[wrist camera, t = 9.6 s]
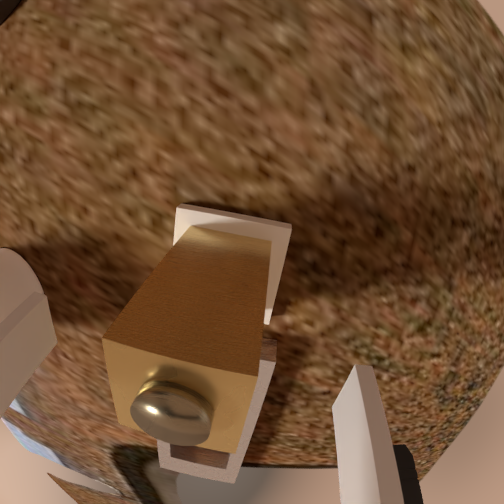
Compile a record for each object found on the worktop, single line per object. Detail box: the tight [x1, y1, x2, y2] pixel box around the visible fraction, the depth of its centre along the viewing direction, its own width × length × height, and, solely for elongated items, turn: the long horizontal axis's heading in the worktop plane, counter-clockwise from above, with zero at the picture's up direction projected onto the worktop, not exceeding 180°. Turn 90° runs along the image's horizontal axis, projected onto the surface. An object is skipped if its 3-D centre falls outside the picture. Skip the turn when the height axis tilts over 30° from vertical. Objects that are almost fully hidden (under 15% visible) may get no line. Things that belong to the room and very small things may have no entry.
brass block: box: [102, 226, 272, 454], centre depth 14 cm, size 5×5×12 cm
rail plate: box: [157, 337, 277, 483], centre depth 26 cm, size 22×9×2 cm, turn 170°
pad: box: [173, 203, 292, 325], centre depth 20 cm, size 7×7×1 cm
